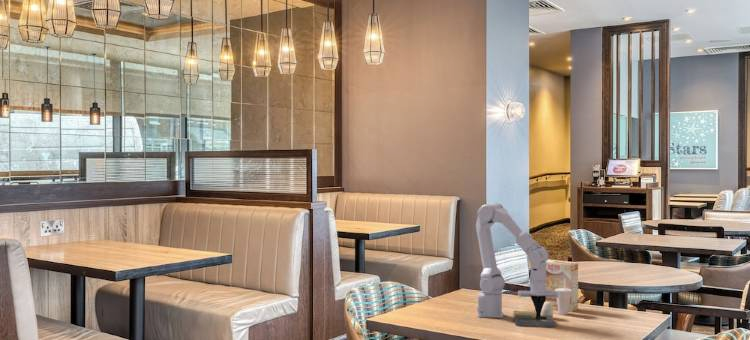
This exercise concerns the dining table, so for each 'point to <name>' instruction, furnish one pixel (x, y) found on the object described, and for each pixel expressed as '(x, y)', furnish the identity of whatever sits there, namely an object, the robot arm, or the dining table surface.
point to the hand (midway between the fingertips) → (538, 316)
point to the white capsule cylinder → (547, 309)
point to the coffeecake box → (562, 280)
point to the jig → (534, 321)
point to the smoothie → (563, 299)
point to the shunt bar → (525, 313)
